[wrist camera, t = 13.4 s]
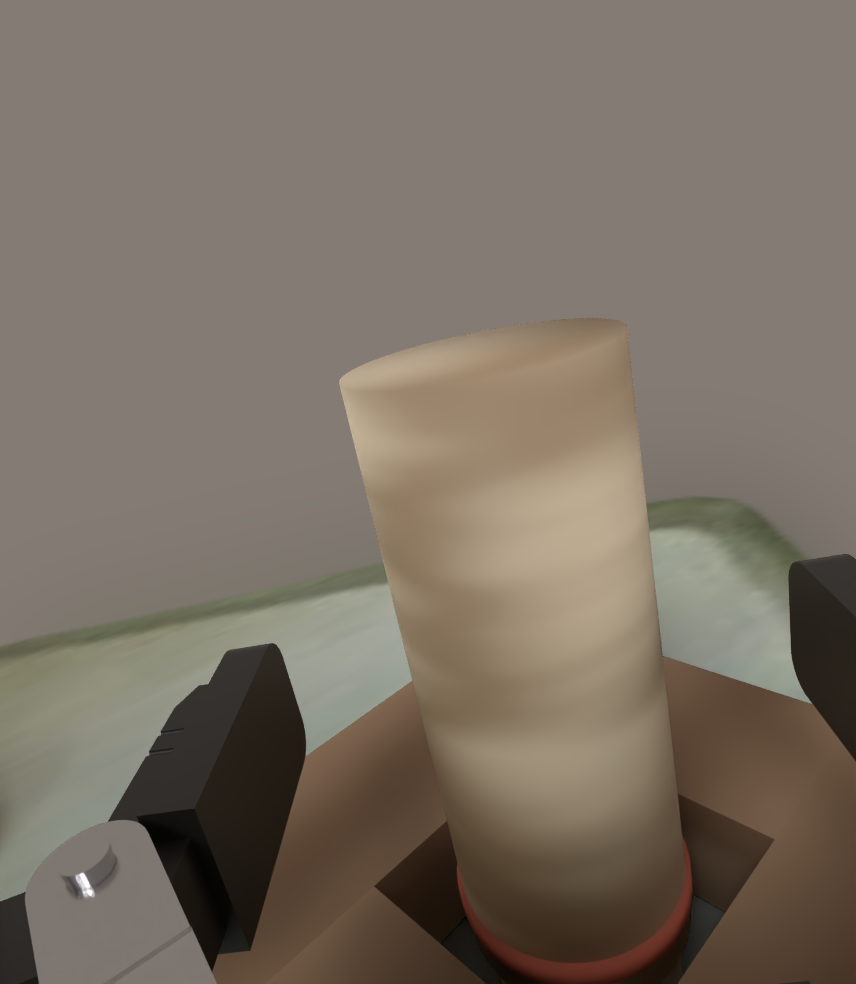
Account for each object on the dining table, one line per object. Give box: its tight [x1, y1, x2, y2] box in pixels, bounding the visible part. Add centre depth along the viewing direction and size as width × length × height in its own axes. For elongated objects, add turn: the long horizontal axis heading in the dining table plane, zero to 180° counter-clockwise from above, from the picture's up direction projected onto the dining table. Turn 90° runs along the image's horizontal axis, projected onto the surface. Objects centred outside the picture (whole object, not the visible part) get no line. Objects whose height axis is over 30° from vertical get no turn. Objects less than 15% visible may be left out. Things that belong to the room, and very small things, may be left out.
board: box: [212, 656, 856, 984], centre depth 16 cm, size 16×15×3 cm
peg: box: [339, 318, 693, 984], centre depth 14 cm, size 5×5×14 cm
